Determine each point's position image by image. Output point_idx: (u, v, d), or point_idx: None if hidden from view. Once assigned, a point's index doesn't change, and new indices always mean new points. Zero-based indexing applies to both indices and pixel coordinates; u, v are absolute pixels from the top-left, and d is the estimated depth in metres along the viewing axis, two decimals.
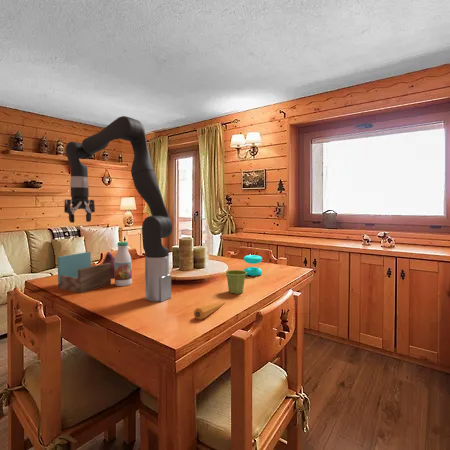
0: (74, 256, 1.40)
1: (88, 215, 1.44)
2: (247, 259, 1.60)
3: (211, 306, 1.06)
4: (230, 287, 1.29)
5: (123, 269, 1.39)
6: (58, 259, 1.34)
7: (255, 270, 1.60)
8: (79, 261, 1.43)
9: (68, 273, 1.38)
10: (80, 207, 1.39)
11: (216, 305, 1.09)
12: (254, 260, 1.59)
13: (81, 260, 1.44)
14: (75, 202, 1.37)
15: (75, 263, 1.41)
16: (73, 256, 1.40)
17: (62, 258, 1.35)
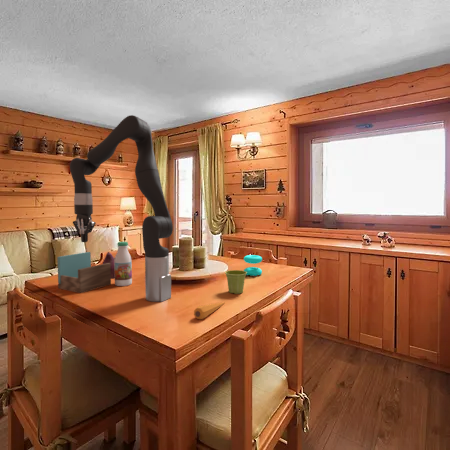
0: (74, 256, 1.40)
1: None
2: (247, 259, 1.60)
3: (211, 306, 1.06)
4: (230, 287, 1.29)
5: (123, 269, 1.39)
6: (58, 259, 1.34)
7: (255, 270, 1.60)
8: (79, 261, 1.43)
9: (68, 273, 1.38)
10: None
11: (216, 305, 1.09)
12: (254, 260, 1.59)
13: (81, 260, 1.44)
14: None
15: (75, 263, 1.41)
16: (73, 256, 1.40)
17: (62, 258, 1.35)
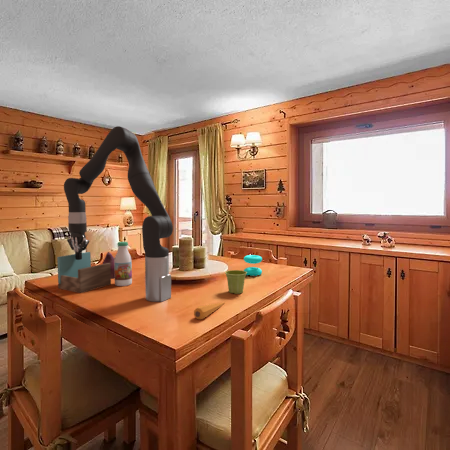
0: (74, 256, 1.40)
1: None
2: (247, 259, 1.60)
3: (211, 306, 1.06)
4: (230, 287, 1.29)
5: (123, 269, 1.39)
6: (58, 259, 1.34)
7: (255, 270, 1.60)
8: (79, 261, 1.43)
9: (68, 273, 1.38)
10: None
11: (216, 305, 1.09)
12: (254, 260, 1.59)
13: (81, 260, 1.44)
14: None
15: (75, 263, 1.41)
16: (73, 256, 1.40)
17: (62, 258, 1.35)
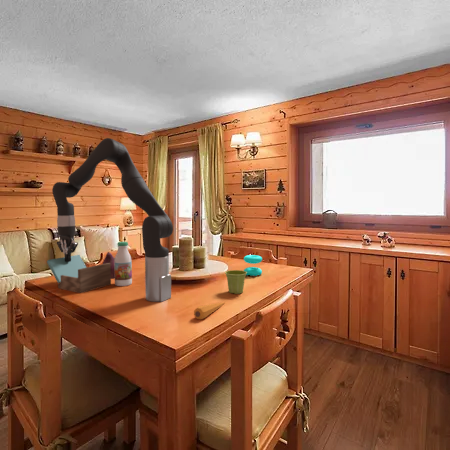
0: (63, 258, 1.44)
1: None
2: (247, 259, 1.60)
3: (211, 306, 1.06)
4: (230, 287, 1.29)
5: (123, 269, 1.39)
6: (48, 262, 1.38)
7: (255, 270, 1.60)
8: (71, 262, 1.46)
9: (64, 272, 1.39)
10: None
11: (216, 305, 1.09)
12: (254, 260, 1.59)
13: (73, 261, 1.47)
14: None
15: (67, 264, 1.43)
16: (62, 258, 1.44)
17: (51, 260, 1.39)
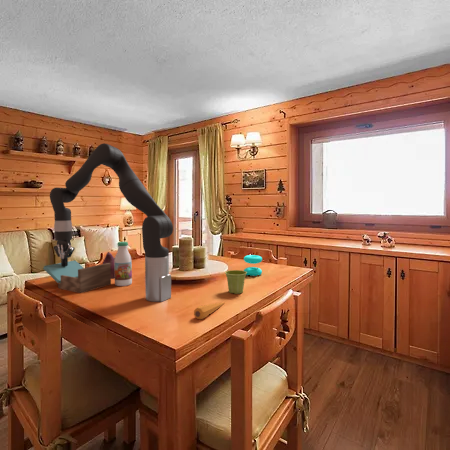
0: (60, 264, 1.46)
1: None
2: (247, 259, 1.60)
3: (211, 306, 1.06)
4: (230, 287, 1.29)
5: (123, 269, 1.39)
6: (44, 268, 1.39)
7: (255, 270, 1.60)
8: (68, 266, 1.47)
9: (62, 274, 1.40)
10: None
11: (216, 305, 1.09)
12: (254, 260, 1.59)
13: (70, 265, 1.48)
14: None
15: (64, 267, 1.45)
16: (58, 264, 1.45)
17: (47, 266, 1.40)
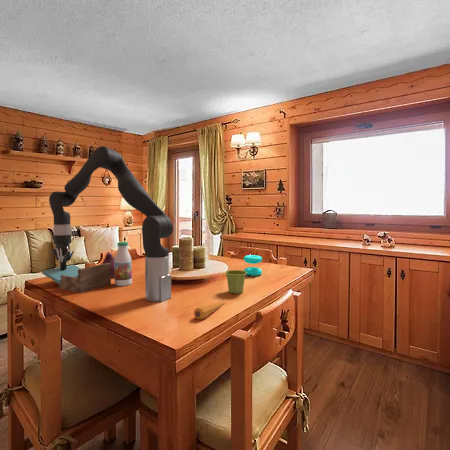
0: (58, 268, 1.46)
1: None
2: (247, 259, 1.60)
3: (211, 306, 1.06)
4: (230, 287, 1.29)
5: (123, 269, 1.39)
6: (43, 273, 1.40)
7: (255, 270, 1.60)
8: (67, 269, 1.47)
9: None
10: None
11: (216, 305, 1.09)
12: (254, 260, 1.59)
13: (69, 268, 1.49)
14: None
15: (63, 270, 1.45)
16: (57, 268, 1.46)
17: (46, 270, 1.41)
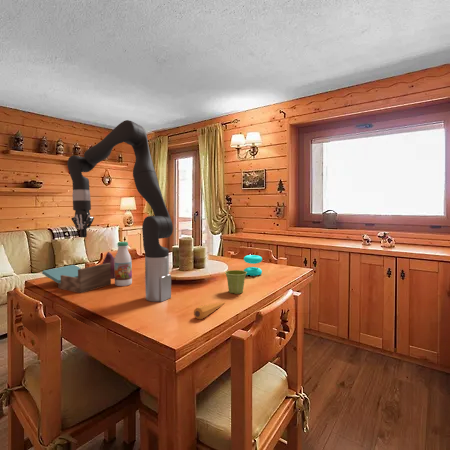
0: (58, 268, 1.46)
1: None
2: (247, 259, 1.60)
3: (211, 306, 1.06)
4: (230, 287, 1.29)
5: (123, 269, 1.39)
6: (43, 273, 1.40)
7: (255, 270, 1.60)
8: (67, 269, 1.47)
9: None
10: None
11: (216, 305, 1.09)
12: (254, 260, 1.59)
13: (69, 268, 1.49)
14: None
15: (63, 270, 1.45)
16: (57, 268, 1.46)
17: (46, 270, 1.41)
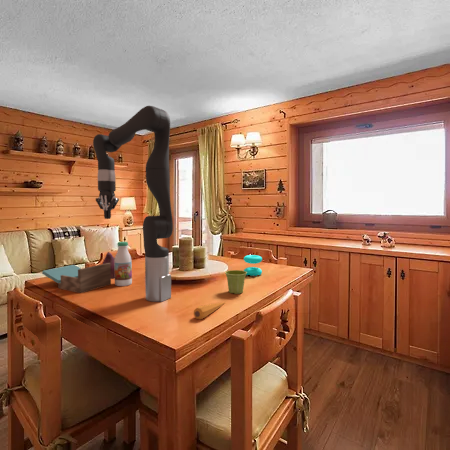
0: (58, 268, 1.46)
1: None
2: (247, 259, 1.60)
3: (211, 306, 1.06)
4: (230, 287, 1.29)
5: (123, 269, 1.39)
6: (43, 273, 1.40)
7: (255, 270, 1.60)
8: (67, 269, 1.47)
9: None
10: None
11: (216, 305, 1.09)
12: (254, 260, 1.59)
13: (69, 268, 1.49)
14: None
15: (63, 270, 1.45)
16: (57, 268, 1.46)
17: (46, 270, 1.41)
